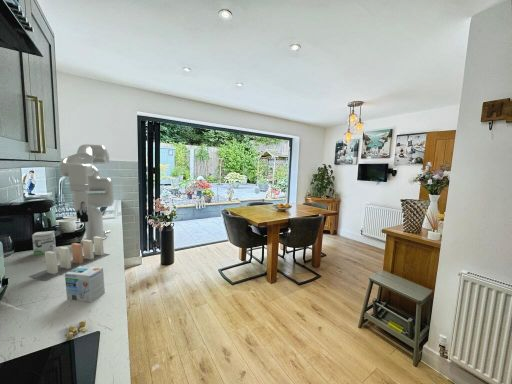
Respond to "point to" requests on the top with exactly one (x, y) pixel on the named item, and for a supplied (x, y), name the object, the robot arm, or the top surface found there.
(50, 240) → the ink box
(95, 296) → the light bulb box
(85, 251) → the domino
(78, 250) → the terracotta domino
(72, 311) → the top surface
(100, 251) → the domino
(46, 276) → the mat
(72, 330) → the dice set
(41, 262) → the top surface
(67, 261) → the domino
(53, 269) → the domino
